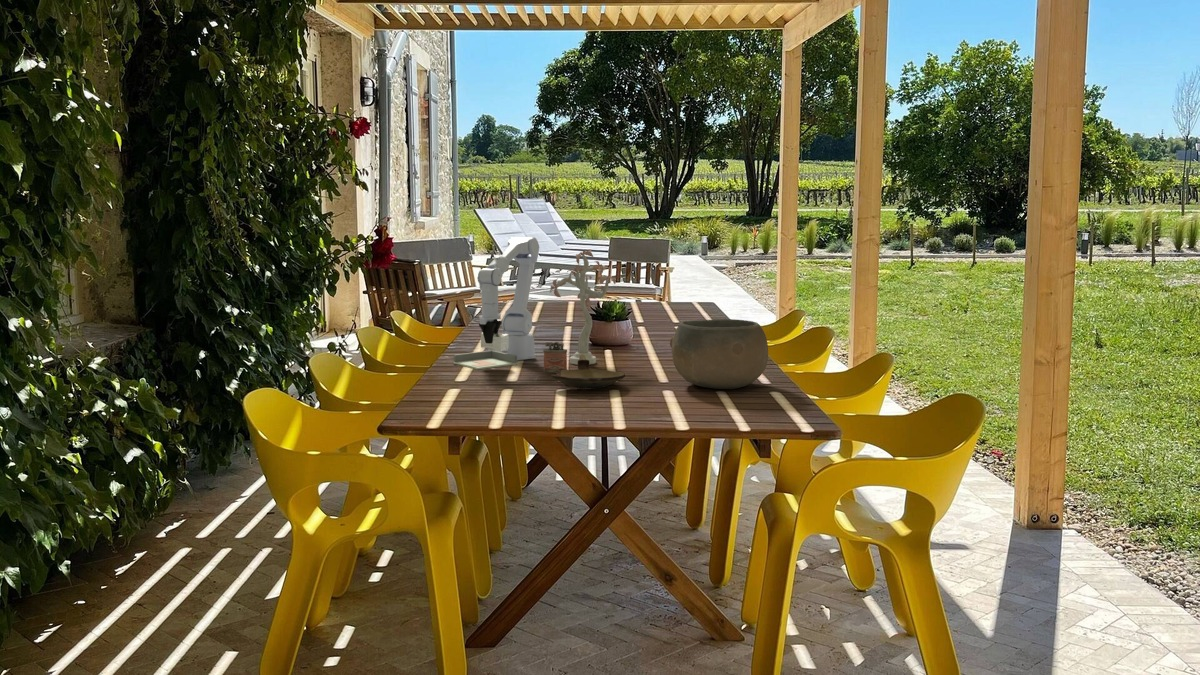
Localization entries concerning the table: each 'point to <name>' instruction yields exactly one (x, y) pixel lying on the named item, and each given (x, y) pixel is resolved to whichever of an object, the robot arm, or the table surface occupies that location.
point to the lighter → (555, 357)
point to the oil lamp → (587, 376)
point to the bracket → (496, 342)
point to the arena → (485, 359)
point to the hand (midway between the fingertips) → (490, 342)
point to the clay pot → (720, 352)
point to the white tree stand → (584, 301)
